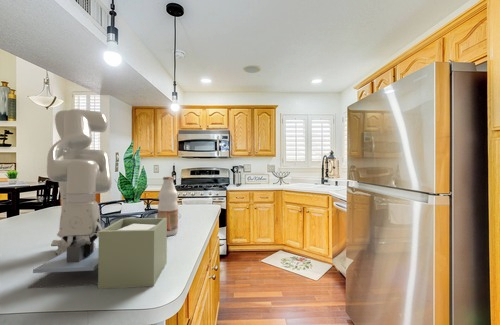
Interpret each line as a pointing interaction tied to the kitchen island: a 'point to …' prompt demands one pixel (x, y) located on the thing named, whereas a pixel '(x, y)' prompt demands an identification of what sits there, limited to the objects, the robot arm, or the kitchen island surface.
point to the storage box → (132, 253)
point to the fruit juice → (169, 205)
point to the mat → (68, 279)
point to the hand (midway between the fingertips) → (81, 255)
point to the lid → (71, 260)
